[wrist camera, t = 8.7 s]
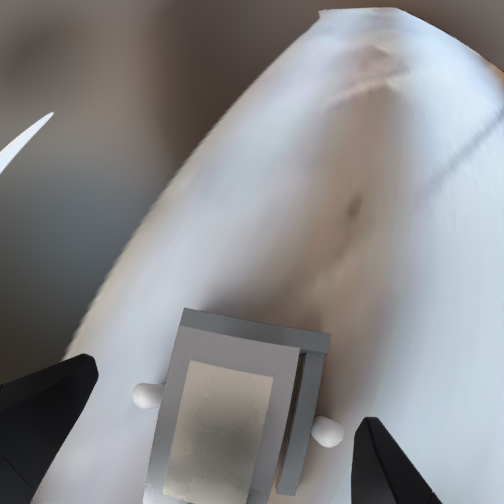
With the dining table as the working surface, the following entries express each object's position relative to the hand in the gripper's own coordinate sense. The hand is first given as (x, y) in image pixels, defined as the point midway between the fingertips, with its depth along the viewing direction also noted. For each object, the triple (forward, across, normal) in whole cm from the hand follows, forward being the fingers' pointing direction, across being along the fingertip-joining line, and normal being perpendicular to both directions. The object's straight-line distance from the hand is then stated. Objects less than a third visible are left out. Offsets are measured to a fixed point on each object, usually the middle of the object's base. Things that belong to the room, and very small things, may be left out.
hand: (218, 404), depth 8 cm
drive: (+7, 0, +9) cm, 12 cm away
